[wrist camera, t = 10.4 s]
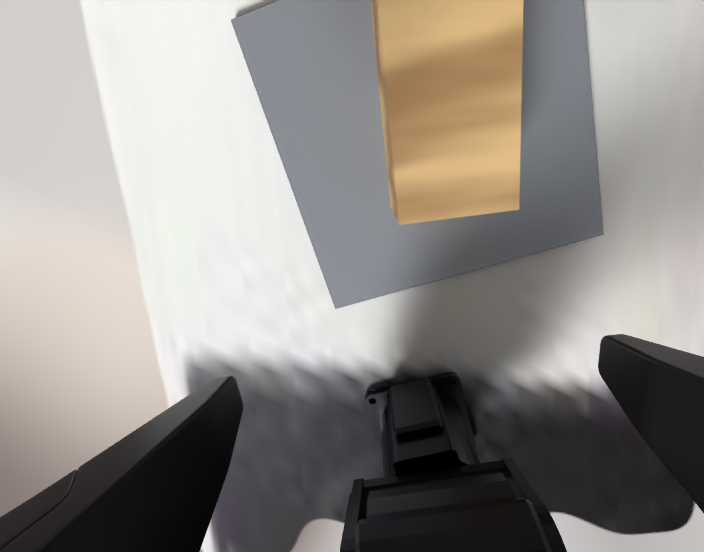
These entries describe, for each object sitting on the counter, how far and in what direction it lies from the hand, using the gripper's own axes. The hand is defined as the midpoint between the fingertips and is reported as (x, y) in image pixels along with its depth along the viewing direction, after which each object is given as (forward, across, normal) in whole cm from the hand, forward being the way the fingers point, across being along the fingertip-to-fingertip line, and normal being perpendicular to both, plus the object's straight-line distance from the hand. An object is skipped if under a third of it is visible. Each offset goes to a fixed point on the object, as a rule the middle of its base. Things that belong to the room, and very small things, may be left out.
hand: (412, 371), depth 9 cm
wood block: (+10, -3, -2) cm, 11 cm away
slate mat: (+13, -3, -6) cm, 14 cm away
